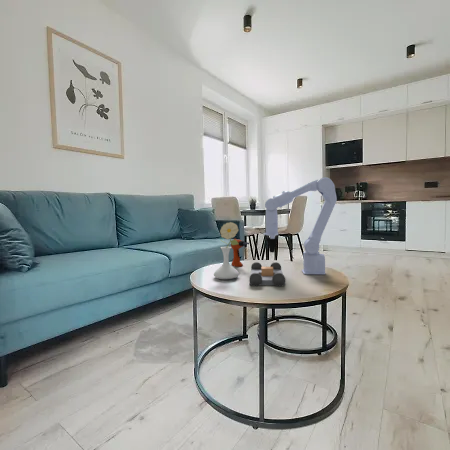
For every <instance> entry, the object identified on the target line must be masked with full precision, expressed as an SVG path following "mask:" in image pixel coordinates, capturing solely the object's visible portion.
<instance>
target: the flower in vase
mask: <svg viewBox="0 0 450 450" xmlns="http://www.w3.org/2000/svg"><path fill="white" fill-rule="evenodd" d="M220 227H221V228H220V230H219V234H220V236H221V238H223V239H226V240H229V242H228V243H227V242H226V241H223V240H222V239H220V241H221V242H223V243H225V244H227V245H226V246H220V249H221V251H222V256H223V263H222V264H221V265H220V267H219V268H217V269H216V270H215V271H214V273H213V277H214V278H217V279H220V280H233V279H235V278H238V277H239V276H240V272H239V271H238V270H237V269H236V268H235V267H234V266H232V264H230V262H229V260H230V259H229V257H230V256H229V255H230V251H231V249H232V248H231V246H229V245H231V244H232V245H237V244H239V243H238V242H237V241H236V240H234V238H235V236H237V235H236V234H238V232H239V227H238V224H236V223H234V222H231V221H230V222H226V223H223V225H222V226H220Z"/></svg>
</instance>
